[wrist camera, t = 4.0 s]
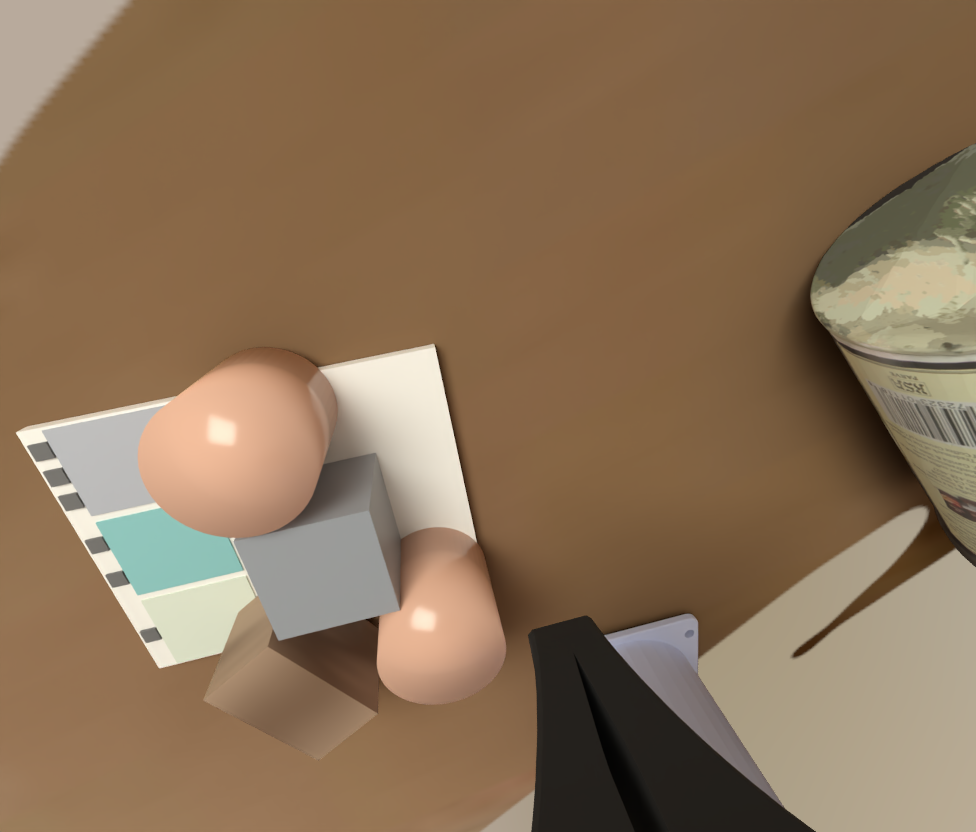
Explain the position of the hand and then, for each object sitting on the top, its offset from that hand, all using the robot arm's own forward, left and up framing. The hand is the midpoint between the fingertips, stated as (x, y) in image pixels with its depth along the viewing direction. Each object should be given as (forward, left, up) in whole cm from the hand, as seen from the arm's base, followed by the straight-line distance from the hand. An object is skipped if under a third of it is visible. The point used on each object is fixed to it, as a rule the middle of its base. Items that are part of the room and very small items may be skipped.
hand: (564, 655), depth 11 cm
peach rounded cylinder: (-4, +3, -9) cm, 11 cm away
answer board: (0, +8, -10) cm, 13 cm away
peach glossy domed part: (+4, +7, -9) cm, 12 cm away
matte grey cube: (0, +6, -9) cm, 11 cm away
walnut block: (-5, +9, -9) cm, 14 cm away
